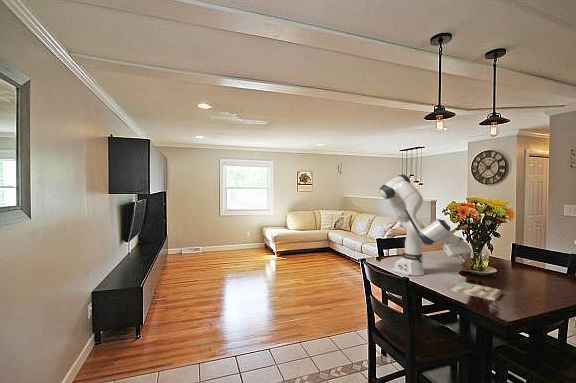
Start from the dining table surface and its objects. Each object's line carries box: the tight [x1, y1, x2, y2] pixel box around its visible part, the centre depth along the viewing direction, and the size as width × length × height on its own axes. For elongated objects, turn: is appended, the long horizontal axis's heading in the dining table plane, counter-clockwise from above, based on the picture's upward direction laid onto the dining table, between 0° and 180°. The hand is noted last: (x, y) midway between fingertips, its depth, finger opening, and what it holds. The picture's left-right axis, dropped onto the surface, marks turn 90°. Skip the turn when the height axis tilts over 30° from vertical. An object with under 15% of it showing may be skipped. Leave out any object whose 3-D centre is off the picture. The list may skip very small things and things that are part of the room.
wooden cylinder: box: [461, 253, 472, 272], centre depth 165 cm, size 4×4×10 cm
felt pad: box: [455, 281, 474, 289], centre depth 165 cm, size 8×8×1 cm
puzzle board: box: [448, 280, 502, 302], centre depth 161 cm, size 22×14×2 cm, turn 42°
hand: (467, 261), depth 165 cm, fingers closed on wooden cylinder, 4 cm apart
